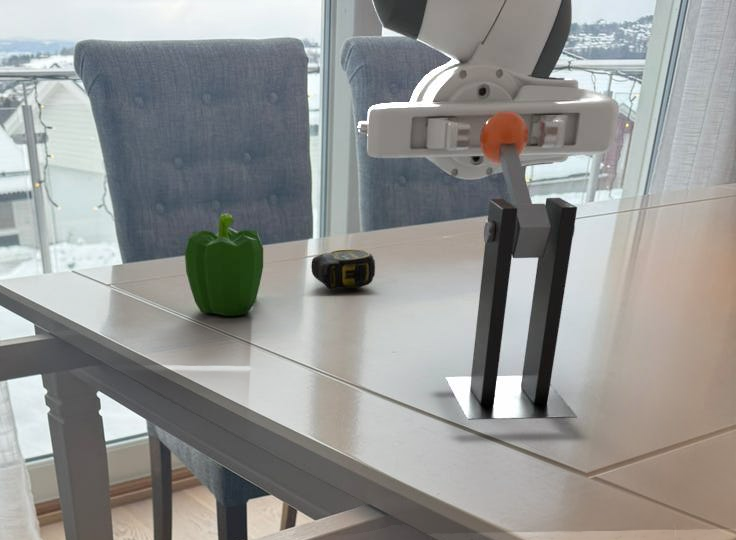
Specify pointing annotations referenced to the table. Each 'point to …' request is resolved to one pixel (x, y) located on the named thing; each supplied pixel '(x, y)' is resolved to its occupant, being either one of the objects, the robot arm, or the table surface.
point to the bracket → (532, 389)
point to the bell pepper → (224, 269)
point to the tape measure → (344, 268)
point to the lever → (516, 182)
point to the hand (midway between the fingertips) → (507, 136)
